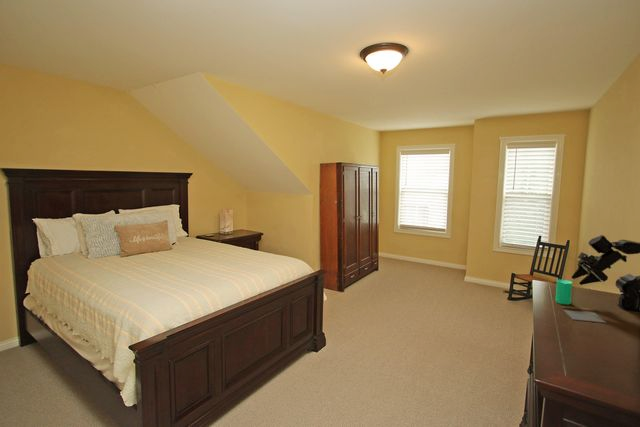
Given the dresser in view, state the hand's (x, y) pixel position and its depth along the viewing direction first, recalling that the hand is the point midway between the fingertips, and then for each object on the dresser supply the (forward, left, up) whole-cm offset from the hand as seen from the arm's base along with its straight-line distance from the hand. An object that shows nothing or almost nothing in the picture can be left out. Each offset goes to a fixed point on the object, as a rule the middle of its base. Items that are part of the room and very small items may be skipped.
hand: (575, 281), depth 160 cm
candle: (+5, 0, -11) cm, 12 cm away
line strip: (+1, +7, -11) cm, 13 cm away
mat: (+3, +17, -11) cm, 20 cm away
